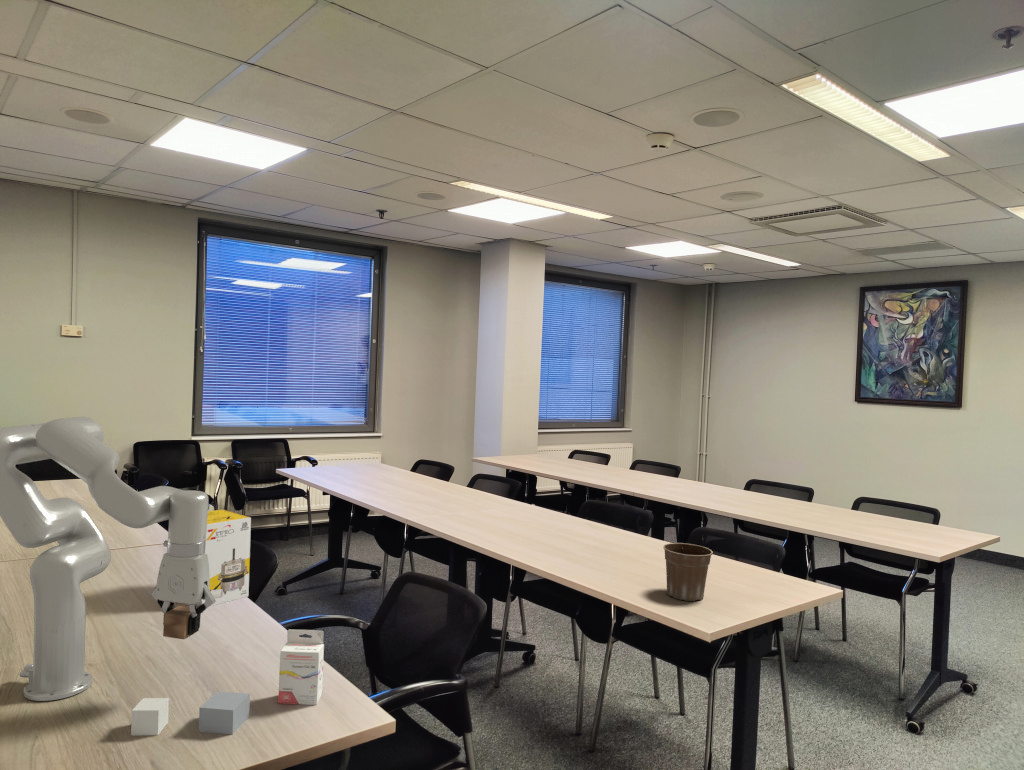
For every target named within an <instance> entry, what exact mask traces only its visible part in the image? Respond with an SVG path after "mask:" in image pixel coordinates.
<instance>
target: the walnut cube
mask: <svg viewBox="0 0 1024 770" xmlns="http://www.w3.org/2000/svg"><path fill="white" fill-rule="evenodd" d="M196 609H197V608H196ZM190 616H191V612H190V607H189V606H184V605H178V606H176V607H174V609H172V610H170V611H168V612H166V613H165V614H164V613H163V621H164V625H163V629H164V630H163V631H162V632H163V633H162V637H165V638H172V639H179V640H186V639H188V638H189V637H191V636H193V635H194V634H196V633H197V632H199V630H198V631H197V632H195V633H194V634H192V635H188V634H187V632H188V618H189V617H190Z"/></svg>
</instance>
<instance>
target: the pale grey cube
mask: <svg viewBox="0 0 1024 770" xmlns="http://www.w3.org/2000/svg"><path fill="white" fill-rule="evenodd" d="M169 705H170V698H169V697H143V698H142V699H141V700H140V701H139V702H138V703H137V704H136V705H135V707H133V709H132V710H131V724H130V725H131V726H130V727H131V728H130V729H131V730H130V735H131V736H159V734H160V733H161V732H162V730H163V729H164V728H165V727H166V725H167V724H168V723H169V713H170V712H169V707H170V706H169Z"/></svg>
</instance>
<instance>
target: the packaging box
mask: <svg viewBox="0 0 1024 770" xmlns="http://www.w3.org/2000/svg"><path fill="white" fill-rule="evenodd" d="M251 526H252V517H250V516H247V515H244V514H240V513H238V512H237V513H236V512H233V511H229V510H227V509H216V510H210V511H209V510H208V516H207V531H206V547H205V554H207V556H208V562H209V574H210V586H209V590H210V592H211V593H212V595H213V596H214V598H215V600H216V602H215V603H214V604H212V605H211V606H209V607H208V608H210V607H214V606H218V605H221V604H226V603H230V602H233V601H237V600H239V599H240V600H241V599H243V598H248V597H249V594H250V593H249V589H250V588H249V587H250V562H251V561H250V559H251V531H252V529H251V528H252V527H251ZM203 603H205V599H202V604H203ZM196 608H197V607H196Z"/></svg>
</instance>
